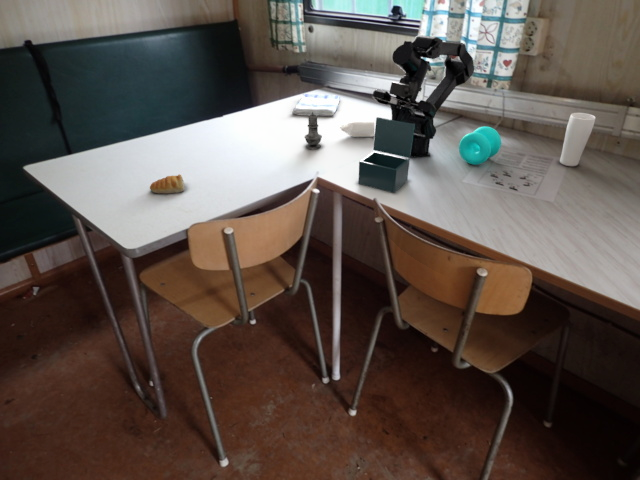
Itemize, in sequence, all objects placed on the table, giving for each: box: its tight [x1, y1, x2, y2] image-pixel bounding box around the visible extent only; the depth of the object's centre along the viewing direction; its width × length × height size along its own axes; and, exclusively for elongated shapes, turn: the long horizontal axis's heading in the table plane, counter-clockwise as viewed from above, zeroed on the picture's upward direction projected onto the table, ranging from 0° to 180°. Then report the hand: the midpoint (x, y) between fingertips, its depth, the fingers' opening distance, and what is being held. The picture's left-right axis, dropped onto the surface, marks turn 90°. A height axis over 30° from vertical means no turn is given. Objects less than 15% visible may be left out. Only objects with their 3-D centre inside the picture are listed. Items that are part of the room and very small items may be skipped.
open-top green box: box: [357, 150, 410, 194], centre depth 131 cm, size 9×11×7 cm
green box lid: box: [372, 116, 415, 159], centre depth 129 cm, size 9×11×1 cm
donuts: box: [458, 125, 502, 166], centre depth 142 cm, size 10×10×10 cm
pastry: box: [149, 173, 185, 195], centre depth 129 cm, size 9×7×4 cm
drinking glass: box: [559, 112, 597, 167], centre depth 138 cm, size 7×7×15 cm
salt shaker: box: [304, 112, 323, 150], centre depth 153 cm, size 6×6×12 cm
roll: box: [339, 119, 375, 138], centre depth 163 cm, size 6×12×6 cm, turn 89°
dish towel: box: [291, 93, 341, 117], centre depth 193 cm, size 17×24×3 cm
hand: (392, 131), depth 134 cm, fingers closed
